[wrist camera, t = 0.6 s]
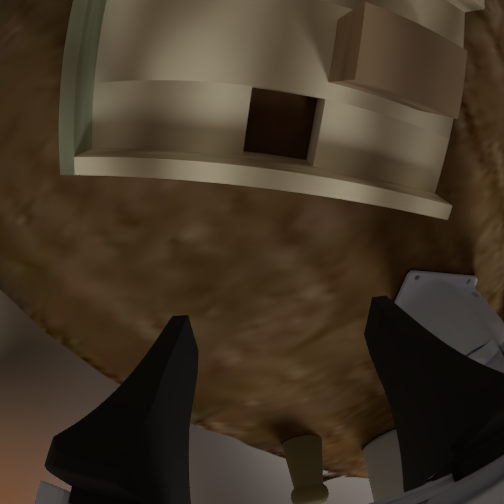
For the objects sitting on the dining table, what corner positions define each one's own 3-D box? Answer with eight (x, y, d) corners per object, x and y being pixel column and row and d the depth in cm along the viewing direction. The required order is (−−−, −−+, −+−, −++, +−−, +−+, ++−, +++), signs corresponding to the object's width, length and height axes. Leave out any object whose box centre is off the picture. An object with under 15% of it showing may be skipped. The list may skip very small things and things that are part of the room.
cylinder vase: (414, 415, 37) (454, 540, 16) (430, 428, 42) (463, 529, 20) (350, 447, 41) (375, 568, 19) (376, 456, 46) (399, 554, 24)
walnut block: (427, 53, 12) (467, 50, 9) (418, 110, 14) (458, 119, 11) (337, 19, 12) (365, 1, 8) (328, 82, 14) (354, 79, 10)
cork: (275, 449, 39) (281, 510, 29) (293, 434, 36) (302, 502, 26) (309, 450, 40) (318, 508, 30) (329, 435, 37) (341, 498, 27)
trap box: (450, 4, 11) (484, -3, 8) (417, 197, 19) (447, 220, 16) (121, -56, 9) (99, -78, 6) (90, 157, 17) (60, 174, 13)
